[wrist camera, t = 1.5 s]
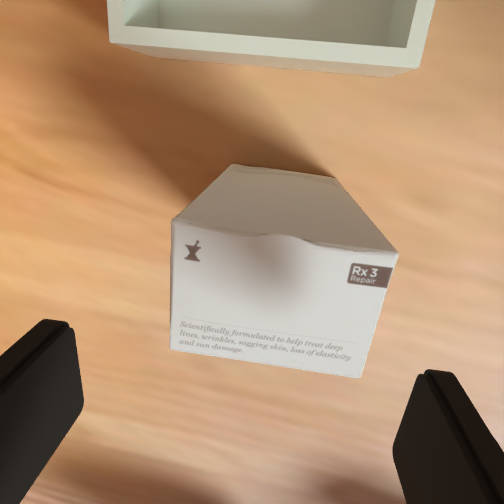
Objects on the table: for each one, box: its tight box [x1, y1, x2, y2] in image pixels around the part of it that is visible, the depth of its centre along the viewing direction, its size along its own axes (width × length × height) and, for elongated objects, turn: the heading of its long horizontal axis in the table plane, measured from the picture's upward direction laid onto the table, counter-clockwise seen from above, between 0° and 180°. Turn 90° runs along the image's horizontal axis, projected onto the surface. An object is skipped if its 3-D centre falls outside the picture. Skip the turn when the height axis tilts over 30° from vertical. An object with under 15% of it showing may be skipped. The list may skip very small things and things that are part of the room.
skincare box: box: [169, 164, 399, 378], centre depth 20 cm, size 8×6×15 cm
